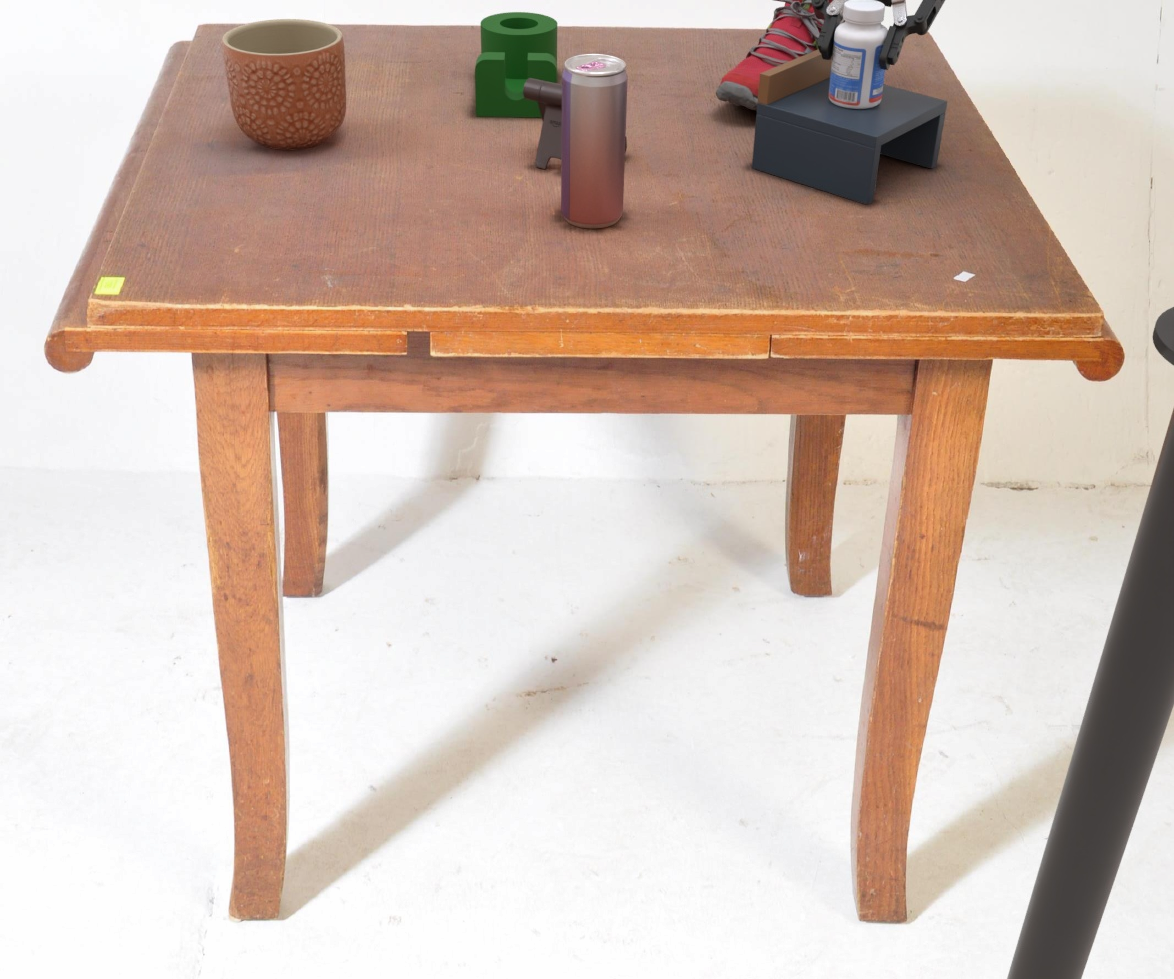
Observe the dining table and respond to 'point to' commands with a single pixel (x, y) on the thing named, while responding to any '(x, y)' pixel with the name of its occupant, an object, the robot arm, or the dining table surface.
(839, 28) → the pill bottle
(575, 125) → the beverage can
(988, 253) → the dining table surface
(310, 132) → the planter
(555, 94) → the tablet stand
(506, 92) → the slotted cylinder bracket
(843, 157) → the shelf
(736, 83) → the athletic shoe
